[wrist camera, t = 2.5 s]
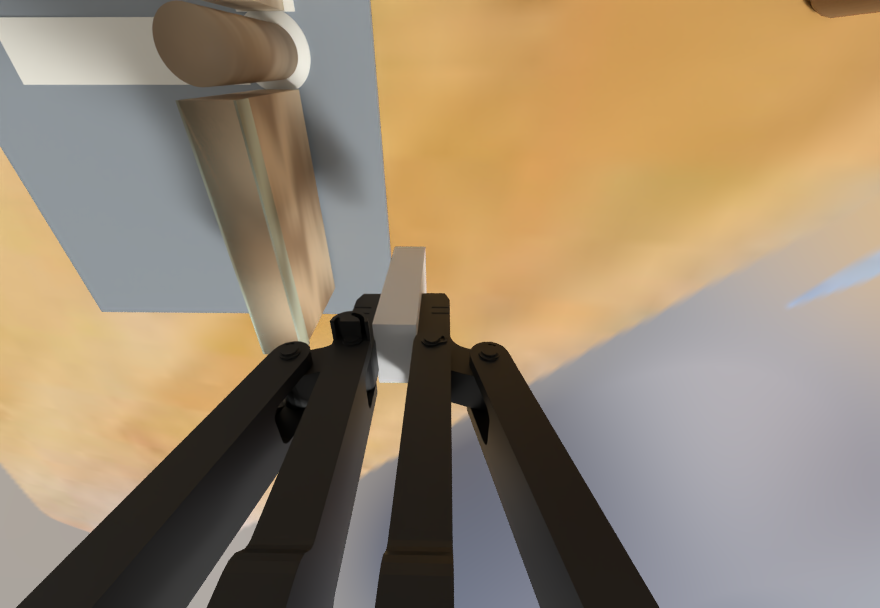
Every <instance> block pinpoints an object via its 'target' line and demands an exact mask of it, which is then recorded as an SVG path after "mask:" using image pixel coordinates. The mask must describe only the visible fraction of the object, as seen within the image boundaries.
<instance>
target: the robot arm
mask: <svg viewBox="0 0 880 608" xmlns="http://www.w3.org/2000/svg"><path fill="white" fill-rule="evenodd" d="M330 324H331V329H332V334H333V339H334V340H333V343H332V345H329V346H327V347H323V348H318V349H314V350H310V347H309V346H308V344H307V343H304V342H301V341H292V342H287V343H284V344H282V345H279V346H278V347H277V348H275V349H274V350H273V351H272V352H271V353H270V354H269V355H268V356H267V357H266V358H265V359H264V360H263V361H262V362H261V363H260V364H259V365H258V366H257V367H256V368H255V369H254V370H253V371H252V372H251V373H250V374H249V375H248V376H247V377H246V378H245V379H244V380H243V381H242V382H241V383H240V384H239V385H238V386H237V387H236V388H235V389H234V390H233V391H232V392H231V393H230V394H229V395H228V396H227V397H226V398H225V399H224V400H223V401H222V402H221V403H220V404H219V405H218V406H217V407H216V408H215V409H214V410H213V411H212V412H211V413H210V414H209V415H208V416H207V417H206V418H205V419H204V420H203V421H202V422H201V423H200V424H199V425H198V426H197V427H196V428H195V429H194V430H193V431H192V432H191V433H190V434H189V435H188V436H187V437H186V438H185V439H184V440H183V441H182V442H181V443H180V444H179V445H178V446H177V447H176V448H175V449H174V450H173V451H172V452H171V453H170V454H169V455H168V456H167V457H166V458H165V459H164V460H163V461H162V462H161V463H160V464H159V465H158V466H157V467H156V468H155V469H154V470H153V471H152V472H151V473H150V474H149V475H148V476H147V477H146V478H145V479H144V480H143V481H142V482H141V483H140V484H139V485H138V486H137V487H136V488H135V489H134V490H133V491H132V492H131V493H130V494H129V495H128V496H127V497H126V498H125V499H124V500H123V501H122V502H121V503H120V504H119V505H118V506H117V507H116V508H115V509H114V510H113V511H112V512H111V513H110V514H109V515H108V516H107V517H106V518H105V519H104V520H103V521H102V522H101V523H100V524H99V525H98V526H97V527H96V528H95V529H94V530H93V531H92V532H91V533H90V534H89V535H88V536H87V537H86V538H85V539H84V540H83V541H82V542H81V543H80V544H79V545H78V546H77V547H76V548H75V549H74V550H73V551H72V552H71V553H70V554H69V555H68V556H67V557H66V558H65V559H64V560H63V561H62V562H61V563H60V564H59V565H58V566H57V567H56V568H55V569H54V570H53V571H52V572H51V573H50V574H49V575H48V576H47V577H46V578H45V579H44V580H43V581H42V582H41V583H40V584H39V585H38V586H37V587H36V588H35V589H34V590H33V591H32V592H31V593H30V594H29V595H28V596H27V597H26V598H25V599H24V600H23V601H22V602H21V603H20V604H19V605H18V606H17V607H16V608H186V607H187V606H188V605H189V603H190V602H191V600H192V599H193V597H194V596H195V594H196V593H197V591H198V590H199V588H200V587H201V586H202V584H203V582H204V581H205V580H206V578H207V576H208V575H209V574H210V572H211V571H212V569H213V568H214V566H215V565H216V563H217V562H218V561H219V559H220V557H221V556H222V555H223V553H224V552H225V550H226V549H227V547H228V546H229V544H230V543H231V541H232V540H233V538H234V537H235V536H236V534H237V533H238V531H239V530H240V528H241V527H242V525H243V524H244V522H245V521H246V519H247V518H248V516H249V515H250V514H251V512H252V511H253V509H254V508H255V506H256V505H257V503H258V502H259V500H260V499H261V497H262V496H263V494H264V493H265V491H266V490H267V489H268V487H269V486H270V484H271V483H272V481H273V480H274V478H275V477H276V475H277V474H278V475H277V478H276V480H275V483H274V485H273V487H272V490H271V492H270V495H269V497H268V499H267V502H266V504H265V507H264V509H263V512H262V514H261V516H260V519H259V521H258V524H257V526H256V528H255V531H254V533H253V536H252V538H251V540H250V542H249V544H248V545H247V546H246V548H245V549H243V550H241V551H239V552H236V553H235V554H234V555H233V556H232V557H231V559H230V560H229V561H228V563H227V565H226V567H225V569H224V571H223V572H222V575H221V577H220V579H219V581H218V583H217V586H216V588H215V590H214V592H213V595H212V597H211V599H210V602H209V604H208V606H207V608H333V604H334V596H335V591H336V586H337V581H338V577H339V572H340V567H341V563H342V558H343V553H344V548H345V544H346V539H347V534H348V529H349V525H350V520H351V515H352V511H353V506H354V501H355V496H356V491H357V487H358V482H359V477H360V473H361V468H362V463H363V458H364V454H365V449H366V444H367V439H368V435H369V430H370V425H371V420H372V416H373V411H374V406H375V401H376V397H377V384H376V381H377V377H378V376H379V383H408V387H407V395H406V403H405V411H404V418H403V426H402V434H401V442H400V450H399V458H398V466H397V474H396V481H395V490H394V497H393V505H392V513H391V521H390V529H389V537H388V544H387V549H386V551H385V553H384V554H383V558H382V562H381V568H380V574H379V581H378V588H377V596H376V603H375V608H454V573H453V572H454V568H453V545H452V544H453V540H452V539H453V537H452V448H451V447H452V446H451V445H452V442H451V402H452V403H456V404H459V405H463V406H466V407H467V411H468V414H469V416H470V419H471V422H472V424H473V427H474V430H475V432H476V435H477V438H478V441H479V443H480V446H481V449H482V452H483V454H484V457H485V459H486V462H487V465H488V468H489V470H490V473H491V476H492V478H493V481H494V484H495V486H496V489H497V492H498V495H499V498H500V500H501V503H502V506H503V508H504V511H505V514H506V516H507V519H508V522H509V525H510V527H511V530H512V532H513V535H514V538H515V541H516V543H517V546H518V549H519V552H520V554H521V557H522V560H523V562H524V565H525V568H526V571H527V573H528V576H529V579H530V581H531V584H532V587H533V589H534V592H535V595H536V598H537V600H538V603H539V606H540V608H659V606H658V604H657V603H656V601H655V599H654V598H653V596H652V594H651V592H650V591H649V589H648V587H647V586H646V584H645V582H644V581H643V579H642V577H641V576H640V574H639V572H638V571H637V569H636V567H635V566H634V564H633V562H632V560H631V559H630V557H629V555H628V554H627V552H626V550H625V549H624V547H623V545H622V544H621V542H620V540H619V538H618V537H617V535H616V533H615V532H614V530H613V528H612V527H611V525H610V523H609V522H608V520H607V519H606V517H605V515H604V513H603V512H602V510H601V508H600V506H599V505H598V503H597V501H596V500H595V498H594V496H593V495H592V493H591V491H590V489H589V488H588V486H587V484H586V483H585V481H584V479H583V478H582V476H581V474H580V473H579V471H578V469H577V467H576V466H575V464H574V463H573V461H572V459H571V457H570V456H569V454H568V452H567V451H566V449H565V447H564V446H563V444H562V442H561V440H560V439H559V437H558V435H557V434H556V432H555V430H554V429H553V427H552V425H551V424H550V422H549V420H548V419H547V417H546V415H545V413H544V412H543V410H542V408H541V407H540V405H539V403H538V402H537V400H536V398H535V397H534V395H533V393H532V391H531V390H530V388H529V386H528V385H527V383H526V381H525V380H524V378H523V376H522V375H521V373H520V371H519V370H518V368H517V366H516V364H515V363H514V361H513V359H512V358H511V356H510V354H509V353H508V351H507V350H506V349H505V348H504V347H503V346H501V345H499V344H497V343H493V342H482V343H478V344H476V345H474V346H473V347H472V348H471V349H467V348H464V347H461V346H459V345H457V344H456V343H454V342H453V341H452V339H451V337H450V301H449V299H448V297H447V296H446V295H445V293H426V253H425V247H395V248H394V252H393V255H392V258H391V262H390V265H389V269H388V272H387V275H386V279H385V282H384V286H383V289H382V293H381V294H363V295H362V296H361V297H359V298H358V299H357V300H356V303H355V305H354V308H353V310H352V311H346V312H342V313H339V314H337V315H336V316H334V317H333V318H332V319H331V320H330ZM278 472H279V473H278Z"/></svg>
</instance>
